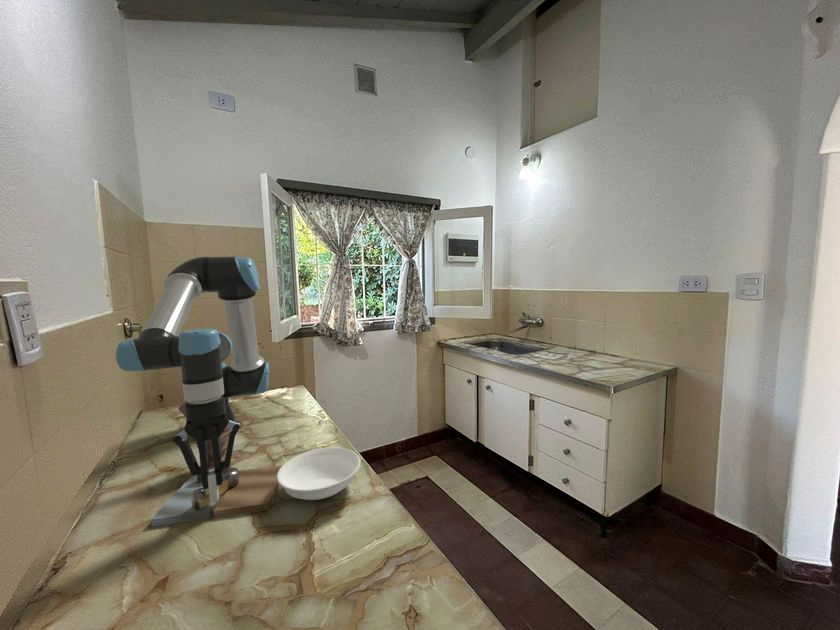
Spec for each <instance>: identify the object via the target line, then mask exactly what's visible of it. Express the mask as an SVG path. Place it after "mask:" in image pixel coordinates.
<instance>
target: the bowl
mask: <svg viewBox="0 0 840 630" xmlns="http://www.w3.org/2000/svg"><path fill="white" fill-rule="evenodd" d="M361 462H362V461H361V458H360V456H359V455H358V454H357V453H356V452H355V451H353V450H351V449H349V448H343V447H322V448H317V449H312V450H309V451H306V452H302V453H300V454H297V455H296V456H294V457H292V458H291V459H289V460H287V461H286V462H285V463H283V466H282V465H281V466H282V467H281V468H280V470H279V471H278V474H277V481H278V483H279V484H280V487H282V488H283V489H284V491H285V492H286V494H287V495H289V496H290V497H292V498H296V499H299V500H306V501H318V500H323V499H327V498H330V497H333V496H335V495H336V494H337V493H339V492H342V490H344V489H346V488H347V487H348V486H350V484H351V483H352V482H353V481H354V478H355V476H356V473H357V472H358V471H359V469H360V467H361V464H362V463H361Z"/></svg>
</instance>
